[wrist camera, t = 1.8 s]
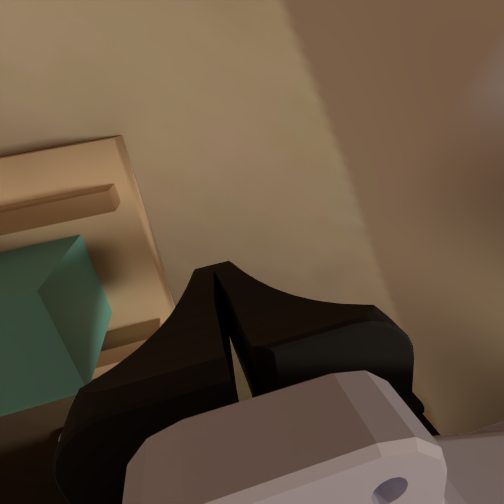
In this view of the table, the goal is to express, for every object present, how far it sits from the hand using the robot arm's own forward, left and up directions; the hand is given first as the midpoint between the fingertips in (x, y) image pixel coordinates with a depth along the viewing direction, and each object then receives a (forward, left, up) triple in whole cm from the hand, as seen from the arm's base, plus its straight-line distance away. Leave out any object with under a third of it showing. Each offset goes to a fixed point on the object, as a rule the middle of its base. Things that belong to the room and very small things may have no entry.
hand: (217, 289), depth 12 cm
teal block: (0, +8, -4) cm, 9 cm away
